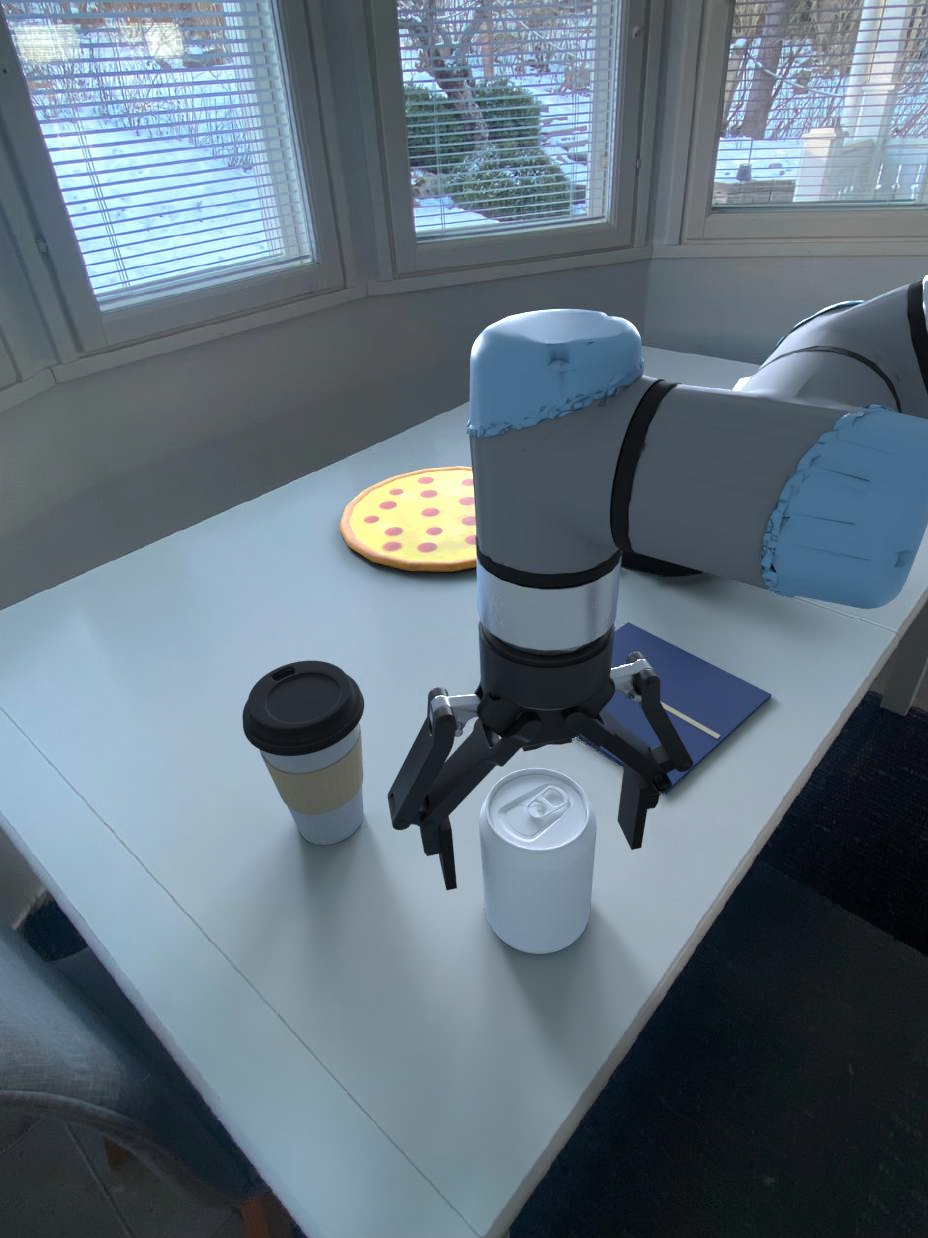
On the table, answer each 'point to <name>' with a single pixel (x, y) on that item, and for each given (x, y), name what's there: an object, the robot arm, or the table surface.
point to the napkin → (682, 697)
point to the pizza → (416, 521)
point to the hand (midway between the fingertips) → (540, 853)
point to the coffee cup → (311, 745)
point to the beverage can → (537, 859)
